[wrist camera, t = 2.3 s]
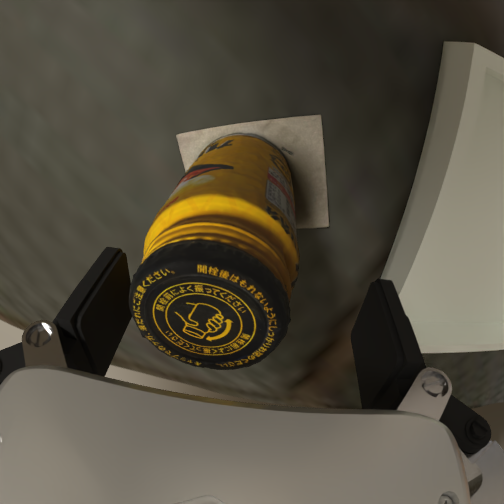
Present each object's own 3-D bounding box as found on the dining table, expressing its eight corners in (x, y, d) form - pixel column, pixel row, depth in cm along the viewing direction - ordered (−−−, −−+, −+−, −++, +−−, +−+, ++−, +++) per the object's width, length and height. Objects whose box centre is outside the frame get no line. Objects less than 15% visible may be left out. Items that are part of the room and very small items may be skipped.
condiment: (176, 134, 18) (68, 244, 8) (320, 114, 17) (383, 209, 7) (203, 236, 22) (152, 388, 12) (328, 224, 21) (361, 383, 11)
